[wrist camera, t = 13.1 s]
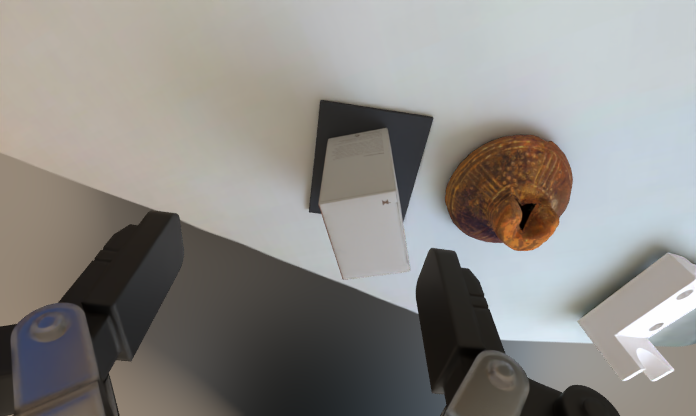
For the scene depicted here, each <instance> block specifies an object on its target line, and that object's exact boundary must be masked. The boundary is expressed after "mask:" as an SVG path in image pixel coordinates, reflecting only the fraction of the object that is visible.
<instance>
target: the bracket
mask: <svg viewBox="0 0 696 416" xmlns="http://www.w3.org/2000/svg"><path fill="white" fill-rule="evenodd" d="M695 308H696V265H695V264H692V263H691V262H690V261H688V260H687V259H686V258H685V257H682V256H679V255H675V254H672V253H667V254H665V255H664V256H663V257H661V258H660V259H659V260H657V261H656V262H655V263H653V264H652V265H651V266H649V267H648V268H647V269H646V270H644V271H643V272H642V273H640V274H639V275H638V276H636V277H635V278H634V279H632V280H631V281H630V282H628V283H627V284H626V285H624V286H623V287H622V288H620V289H619V290H618V291H616V292H615V293H614V294H612V295H611V296H610V297H609V298H607V299H606V300H605V301H603V302H602V303H601V304H599V305H598V306H597V307H595V308H594V309H593V310H591V311H590V312H589V313H587V314H586V315H585V316H583V317H582V318H581V319H579V320H578V321H577V322H578V323H579V325H580V326H581V327H582V329H583V330H584V331H585V333H586V334H587V335H588V337H589V338H590V339H591V341H592V342H593V343H594V345H595V346H596V347H597V349H598V350H599V351H600V353H601V354H602V355H603V357H604V358H605V359H606V361H607V362H608V363H609V365H610V366H611V368H612V369H613V370H614V371H615V373H616V374H617V376H618V377H619V378H620V380H621V381H627V380H628V379H630V378H632V377H633V376H635V375H637V374H639V373H640V372H643V373H644V374H645V375H646V376H647V377H648V378H649V379H650V380H651V381H656V380H658V379H660V378H662V377H663V376H665V375H667V374H669V373H671V372H673V371H674V369H673V367H671V365H670V364H669V363H668V362H667V361H666V359H665V358H664V357H663V356H662V355H661V354H660V353H659V351H658V350H657V349H656V348H655V347H654V346H653V344H652V343H651V342H650V341H649V340H648V338H649V337H651V336H652V335H654V334H655V333H657V332H659V331H660V330H662V329H663V328H665V327H666V326H668V325H670V324H671V323H673V322H674V321H676V320H677V319H679V318H681V317H682V316H684V315H685V314H687V313H688V312H690V311H691V310H693V309H695Z"/></svg>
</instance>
